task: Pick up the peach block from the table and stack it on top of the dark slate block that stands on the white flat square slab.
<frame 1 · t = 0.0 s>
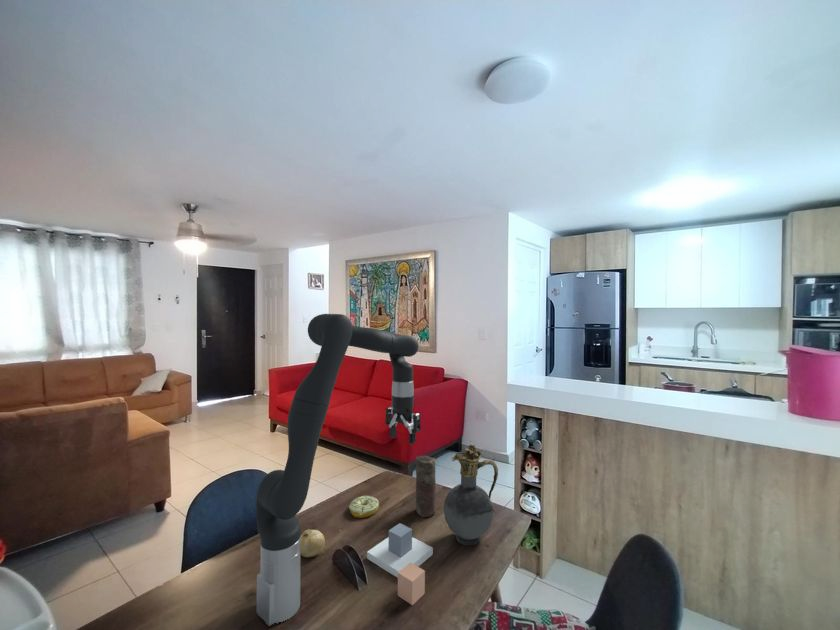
hand: (402, 440, 124), 29 cm above the table, fingers open, 8 cm apart
brown cylinder: (425, 512, 133), on the table
white flat square slab: (400, 556, 109), on the table
onion: (311, 553, 110), on the table
slate block: (400, 549, 109), point 2 cm above the table, touching white flat square slab
decorated donut: (364, 511, 133), on the table
pitcher: (472, 537, 118), on the table
peach block: (411, 594, 94), on the table
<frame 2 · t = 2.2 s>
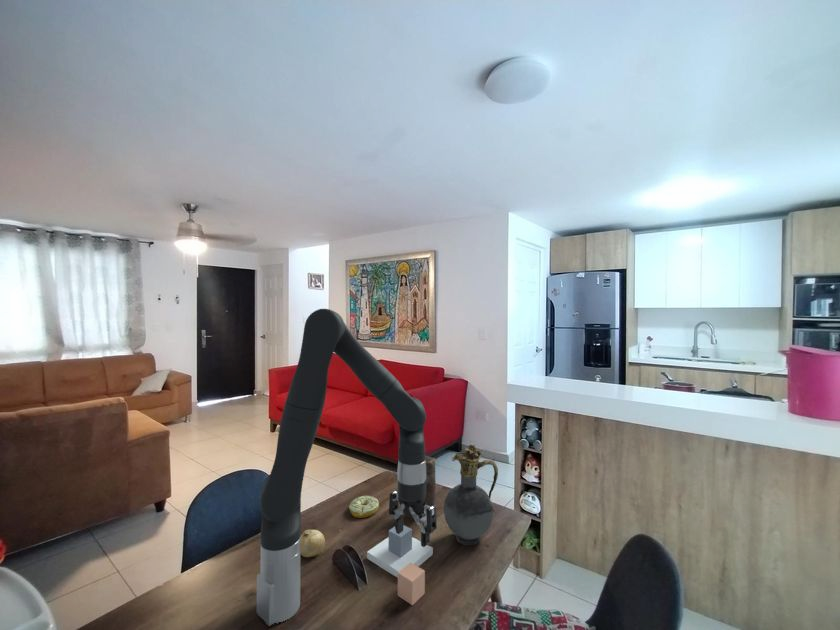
hand: (411, 538, 94), 14 cm above the table, fingers open, 8 cm apart
nothing on the table moved.
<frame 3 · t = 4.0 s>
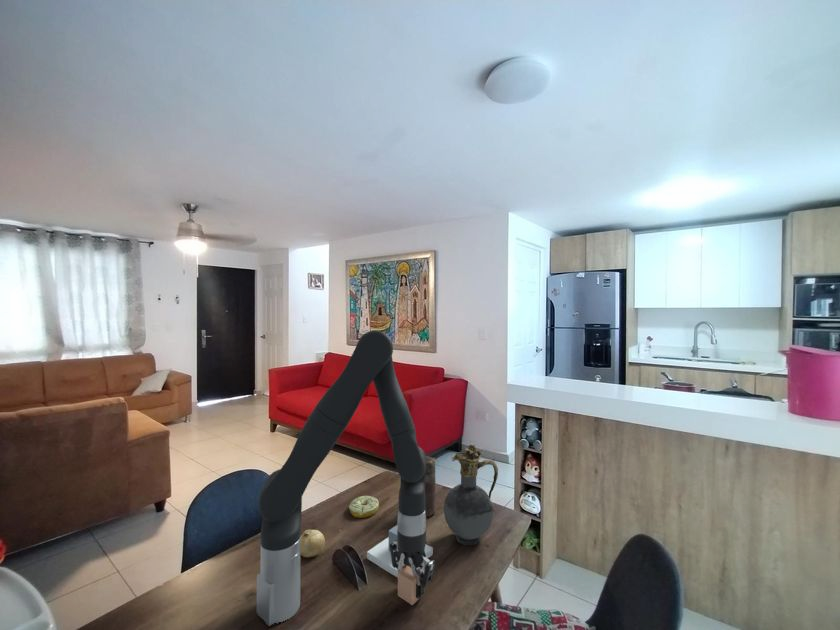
hand: (411, 590, 94), 1 cm above the table, fingers closed on peach block, 5 cm apart
peach block: (411, 594, 94), on the table, touching gripper
everything else where it was.
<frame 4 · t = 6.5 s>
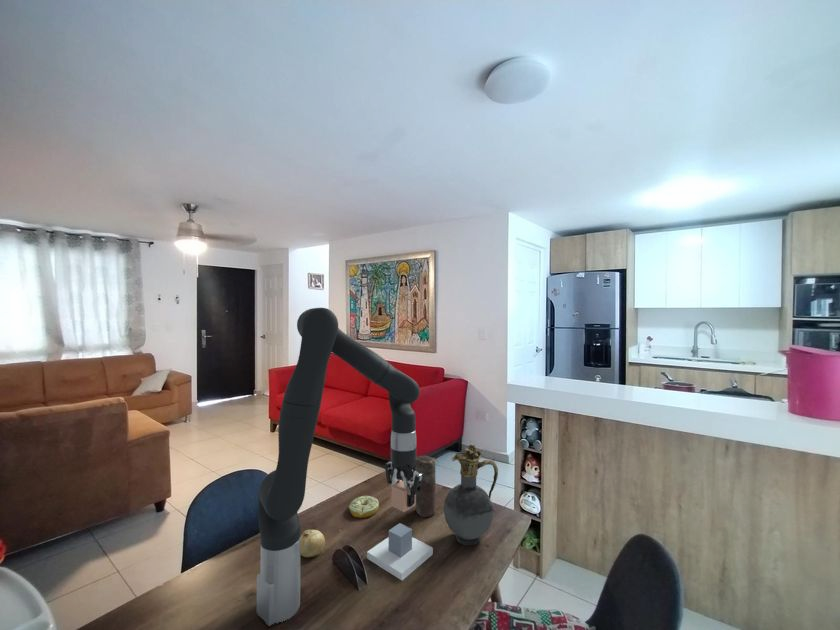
hand: (403, 502, 106), 18 cm above the table, fingers closed on peach block, 5 cm apart
peach block: (403, 505, 106), point 17 cm above the table, touching gripper
everything else where it was.
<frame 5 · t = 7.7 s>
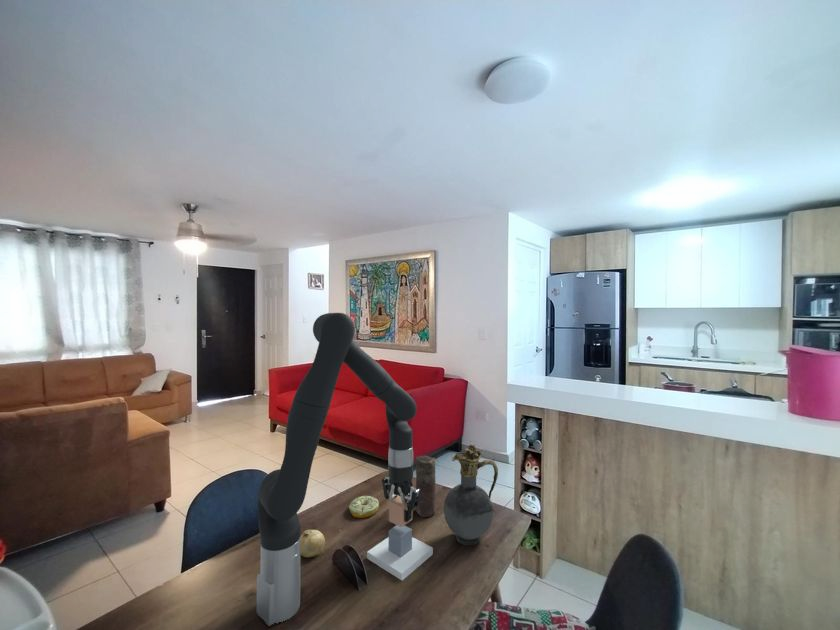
hand: (400, 517, 109), 12 cm above the table, fingers closed on peach block, 5 cm apart
peach block: (400, 520, 109), point 11 cm above the table, touching gripper
everything else where it was.
when the fingers open (10 cm above the table, at t = 8.8 s): peach block drops 1 cm, resting on slate block.
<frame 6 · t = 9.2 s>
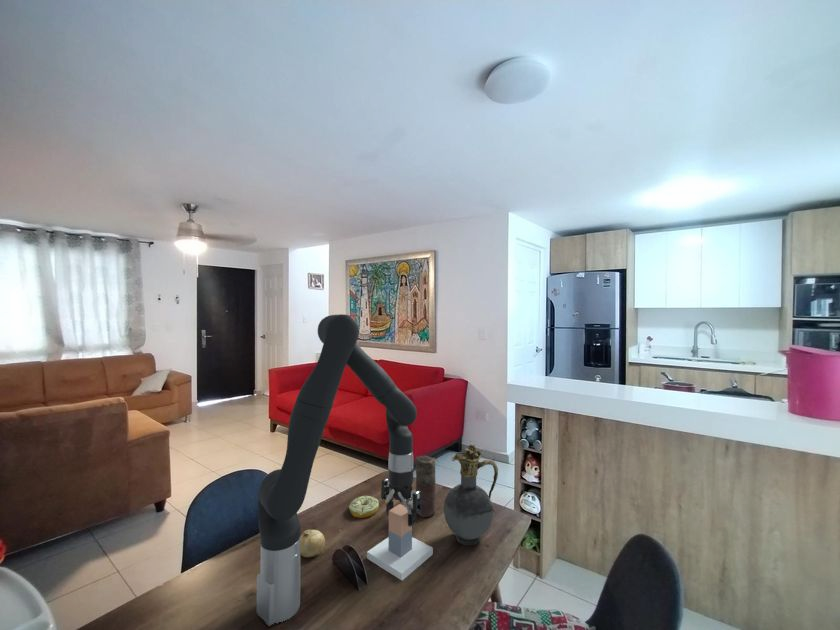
hand: (400, 519, 109), 11 cm above the table, fingers open, 8 cm apart
slate block: (400, 549, 109), point 2 cm above the table, touching white flat square slab, peach block
peach block: (400, 529, 109), point 8 cm above the table, touching slate block
everything else where it was.
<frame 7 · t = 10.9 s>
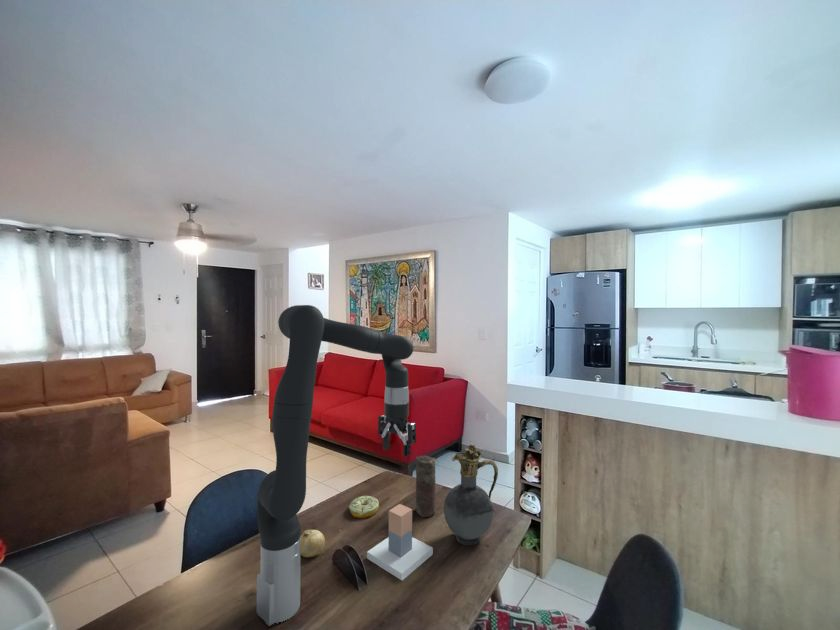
hand: (396, 452, 112), 30 cm above the table, fingers open, 8 cm apart
nothing on the table moved.
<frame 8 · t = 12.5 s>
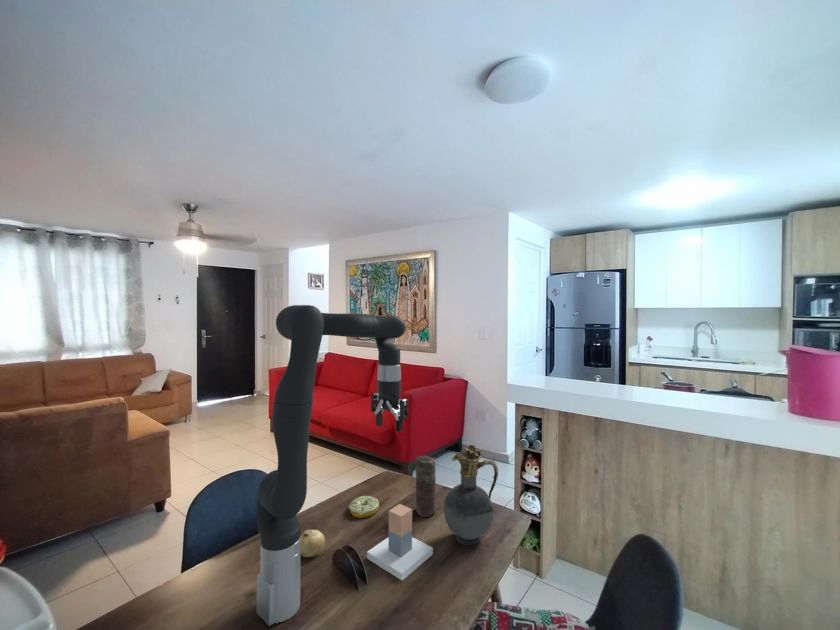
hand: (388, 428, 116), 36 cm above the table, fingers open, 8 cm apart
nothing on the table moved.
at the end: peach block 0.0 cm off-centre on the slate block, point 6.0 cm above the slate block's base; peach block tilted 0°; the gripper is holding nothing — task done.
